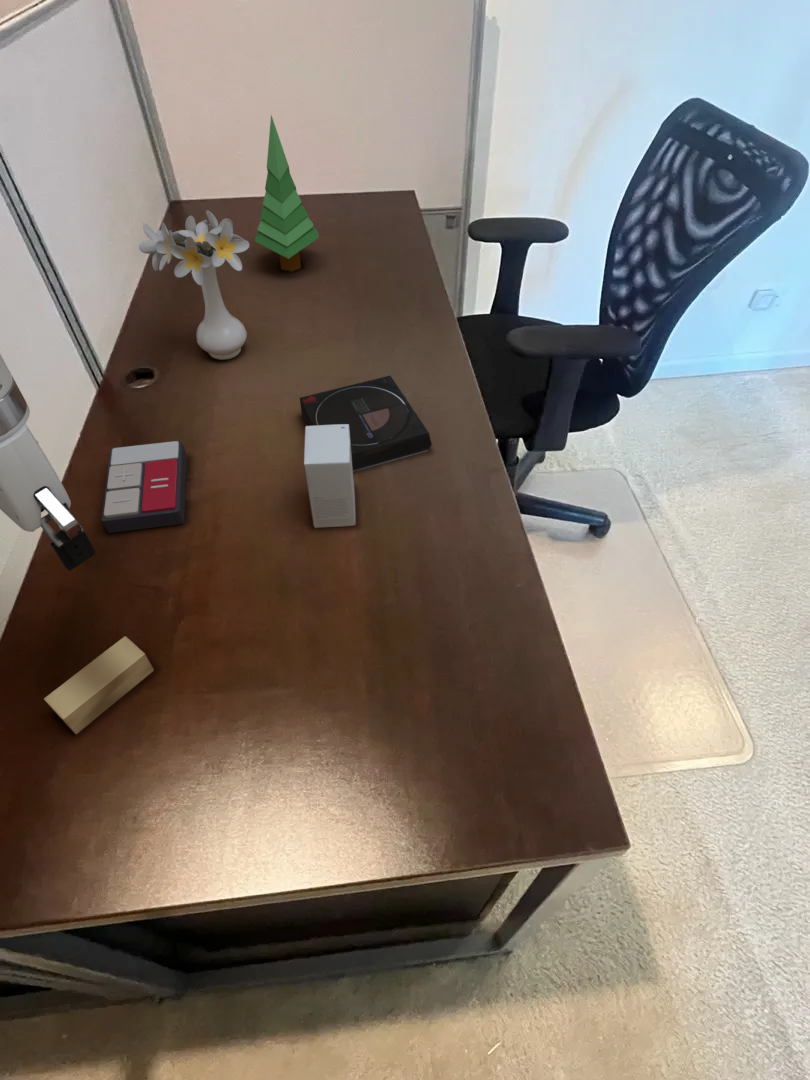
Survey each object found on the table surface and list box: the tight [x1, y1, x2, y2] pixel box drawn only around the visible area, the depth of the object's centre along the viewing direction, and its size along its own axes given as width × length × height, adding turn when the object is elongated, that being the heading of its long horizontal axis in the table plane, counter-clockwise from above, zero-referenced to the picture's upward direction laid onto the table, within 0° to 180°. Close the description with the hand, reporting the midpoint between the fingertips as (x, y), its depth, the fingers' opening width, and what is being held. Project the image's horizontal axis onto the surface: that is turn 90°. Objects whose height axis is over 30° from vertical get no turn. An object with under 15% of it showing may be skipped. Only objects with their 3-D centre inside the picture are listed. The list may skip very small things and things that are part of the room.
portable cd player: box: [299, 375, 433, 473], centre depth 111 cm, size 16×17×4 cm
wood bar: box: [43, 636, 155, 735], centre depth 80 cm, size 11×4×4 cm, turn 140°
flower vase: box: [138, 209, 250, 361], centre depth 119 cm, size 13×18×25 cm
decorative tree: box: [254, 114, 320, 272], centre depth 139 cm, size 14×16×30 cm
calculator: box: [101, 440, 188, 534], centre depth 102 cm, size 11×4×15 cm
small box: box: [303, 424, 357, 529], centre depth 97 cm, size 8×6×13 cm
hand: (55, 537), depth 71 cm, fingers open, 9 cm apart
